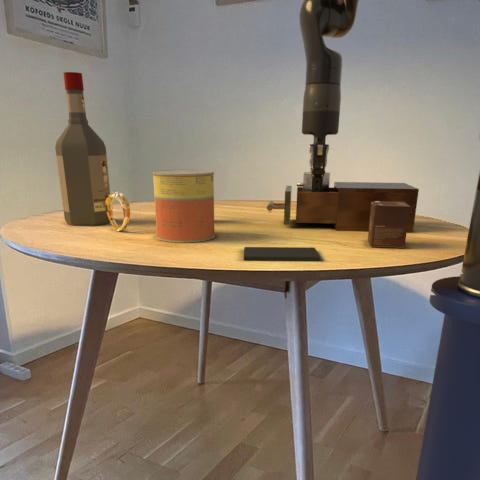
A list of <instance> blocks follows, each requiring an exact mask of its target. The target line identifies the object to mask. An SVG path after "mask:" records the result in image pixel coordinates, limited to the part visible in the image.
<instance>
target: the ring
mask: <svg viewBox="0 0 480 480" xmlns="http://www.w3.org/2000/svg"><path fill="white" fill-rule="evenodd" d="M115 200H117V201H118V202H119V204H120V205H121V208H122V212H123V222H122V225H118V223H117V221H116V219H115V217H114V213H113V205H114V201H115ZM105 205H106V211H107V215H108V218H109V220H110V221H109V223H110V224H111V225H112V227H113V229H115V230H116V231H117V232H123V231H124V230H126V229H127V228H128V226H129V223H130V220H131V206H130V202H129V200H128V199H127V197H126V194H124V193H123V192H122V191H121V190H117V191H116V190H112V191H111V193H110V195H108V198H107V199H106V203H105Z"/></svg>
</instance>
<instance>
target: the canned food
mask: <svg viewBox="0 0 480 480" xmlns="http://www.w3.org/2000/svg"><path fill="white" fill-rule="evenodd" d="M214 174H215V171H213V170H206V169H205V170H203V169H168V170H155V171H153V172H152V178H153V179H152V180H153V194H154V213H155V223H156V224H155V225H156V239H157V240H159V241H162V242H166V243H180V244H181V243H183V244H184V243H185V244H186V243H198V242H199V243H200V242H205V241H209V240H212V239H215V237H216V234H215V190H214V189H215V188H214V187H215V183H214Z"/></svg>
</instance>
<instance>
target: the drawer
mask: <svg viewBox="0 0 480 480" xmlns="http://www.w3.org/2000/svg"><path fill="white" fill-rule="evenodd" d="M296 187H297V188H296V205H295V208H296V209H295V223H298V224H301V223H302V224H333V223H335V224H336V217H337V204H338V192H339V191H338V190H337V189H336V188H334V186H333V187H330V186H329V192H303V187H298V186H296ZM292 188H293V186H292V185H286V187H285V190H284V202H274V201H273V200H270V201H269V202H268V203H267V205H266V210H267V211H268V212H272V211H273V210H283V225H290V223H291V212H292V211H291V209H292V191H293V190H292Z"/></svg>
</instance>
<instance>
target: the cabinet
mask: <svg viewBox="0 0 480 480" xmlns="http://www.w3.org/2000/svg"><path fill="white" fill-rule="evenodd" d="M333 188H336V189H337V190H338V191H339V192H338V204H337V217H336V224H335V223H332V225H333V226H334V229H335V231H342V232H343V231H345V232H346V231H347V232H348V231H349V232H353V231H354V232H369V222H370V212H371V202H373V201H390V202H405V203H407V204H408V205H409V206H410V209H409V217H408V225H407V233H414V228H415V221H416V214H417V206H418V198H419V191H420V189H419V188H417V187H415V186H413V185H410V184H408V183H406V182H372V181H371V182H366V181H364V182H362V181H361V182H358V181H357V182H356V181H334V182H333Z"/></svg>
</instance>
